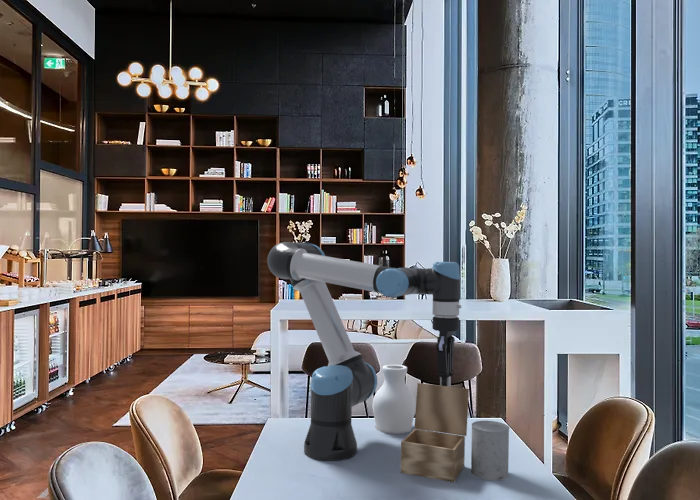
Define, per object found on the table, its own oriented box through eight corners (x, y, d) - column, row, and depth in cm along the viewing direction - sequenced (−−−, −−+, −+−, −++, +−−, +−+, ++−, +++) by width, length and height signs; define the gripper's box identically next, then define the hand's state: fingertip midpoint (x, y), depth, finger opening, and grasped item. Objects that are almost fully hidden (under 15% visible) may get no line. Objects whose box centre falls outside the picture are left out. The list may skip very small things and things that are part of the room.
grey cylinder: (510, 482, 139) (510, 433, 139) (471, 478, 141) (471, 430, 141) (507, 468, 148) (507, 422, 149) (470, 465, 150) (471, 419, 150)
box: (400, 472, 144) (401, 441, 144) (414, 457, 155) (414, 428, 155) (454, 482, 138) (454, 450, 138) (464, 466, 149) (464, 436, 149)
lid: (417, 383, 158) (418, 383, 159) (414, 428, 155) (415, 428, 156) (468, 388, 152) (469, 388, 153) (465, 436, 150) (466, 435, 150)
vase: (424, 428, 182) (425, 367, 182) (397, 438, 172) (398, 373, 172) (390, 418, 192) (391, 360, 192) (362, 427, 181) (364, 366, 182)
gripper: (454, 319, 150) (453, 406, 150) (463, 314, 162) (463, 395, 162) (427, 317, 153) (426, 403, 153) (438, 313, 165) (437, 392, 165)
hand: (445, 399), depth 157 cm, fingers closed
